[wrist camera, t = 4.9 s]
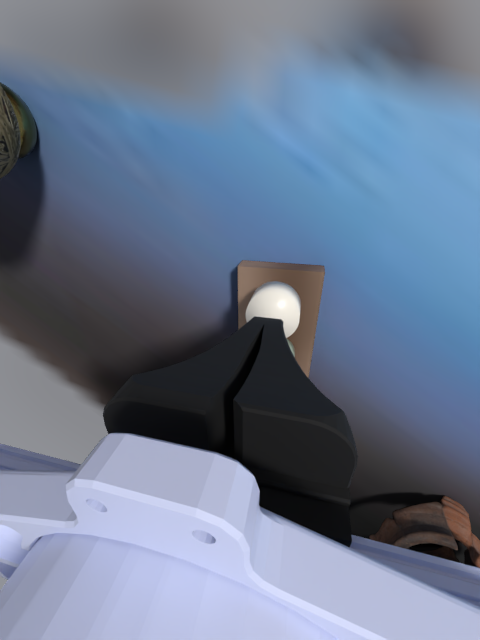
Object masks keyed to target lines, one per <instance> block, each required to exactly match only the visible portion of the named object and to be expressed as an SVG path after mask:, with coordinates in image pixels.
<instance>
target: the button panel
mask: <svg viewBox="0 0 480 640" xmlns="http://www.w3.org/2000/svg"><path fill="white" fill-rule="evenodd" d="M324 274H325V269H324V266H321V265H306V264H291V263H275V262H260V261H245V260H242V261H241V263H240V264H239V265H238V330H239V329H240V328H241V327H242V326H244V325H245V324H246V323H247V321H246V309H247V306H248V304H249V302H250V300H251V298H252V296H253V294H254V292H255V291H256V289H257V288H258V287H259V286H261V285H263V284H264V283H267V282H272V281H278V282H283V283H286V284H288V285H290V286H291V287H292V288H293V289H294V290H295V291H296V292H297V294H298V295H299V298H300V302H301V309H300V319H299V325H298V327H297V329H296V330H295V332H294V333H293V334H292V335H290V336H289V337H287V339H288V340H289V341H290V342H291V343H292V344H293V346H294V349H295V359H296V361H297V363H298V364H299V366H300V367H301V369H302V370H303V372H304V373H305V375H306V376H307V377H309V370H310V364H311V357H312V351H313V345H314V338H315V332H316V325H317V319H318V313H319V306H320V300H321V294H322V287H323V281H324Z"/></svg>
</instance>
